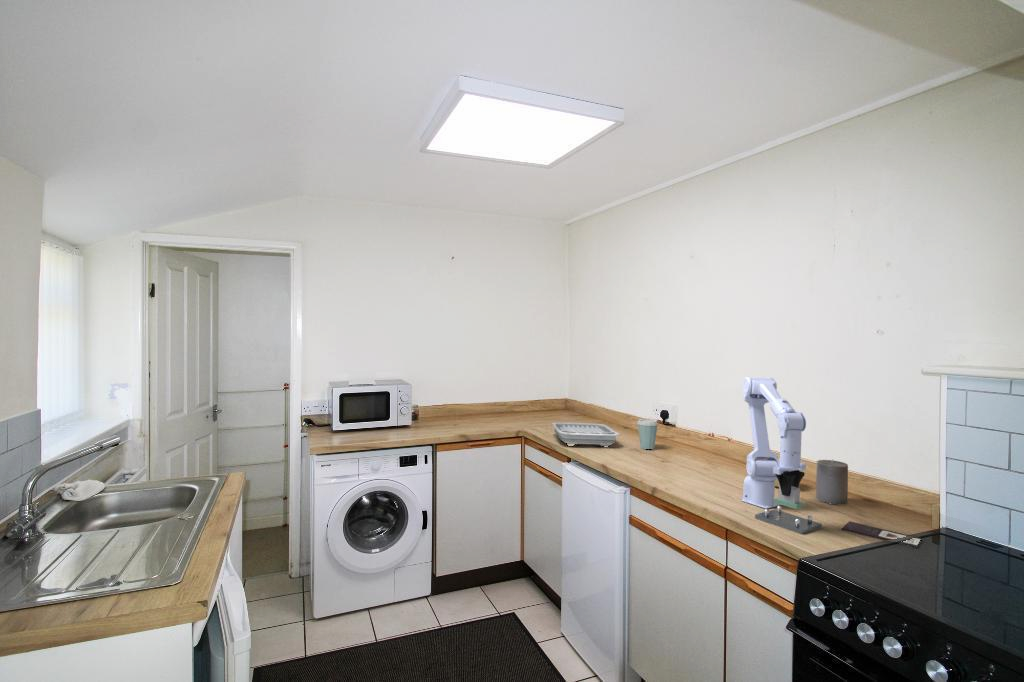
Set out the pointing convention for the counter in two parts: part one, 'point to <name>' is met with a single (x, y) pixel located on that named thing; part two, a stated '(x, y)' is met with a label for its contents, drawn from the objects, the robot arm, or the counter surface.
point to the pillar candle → (832, 481)
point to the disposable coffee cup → (647, 432)
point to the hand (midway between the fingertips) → (788, 494)
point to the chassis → (789, 521)
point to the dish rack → (585, 433)
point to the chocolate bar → (879, 533)
